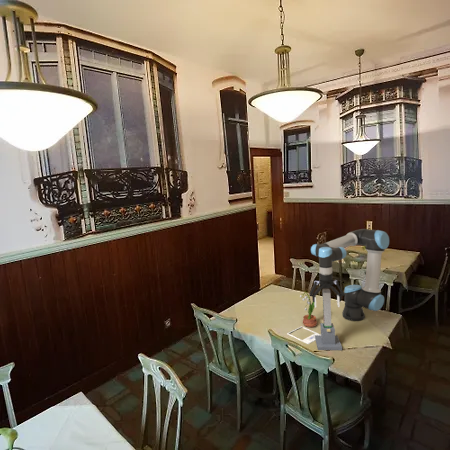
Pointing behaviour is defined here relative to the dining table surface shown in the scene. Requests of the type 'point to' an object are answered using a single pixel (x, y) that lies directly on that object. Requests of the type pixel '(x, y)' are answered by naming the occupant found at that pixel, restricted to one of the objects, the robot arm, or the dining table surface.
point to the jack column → (327, 308)
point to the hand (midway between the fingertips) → (326, 306)
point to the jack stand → (328, 339)
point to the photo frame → (308, 339)
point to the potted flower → (309, 319)
